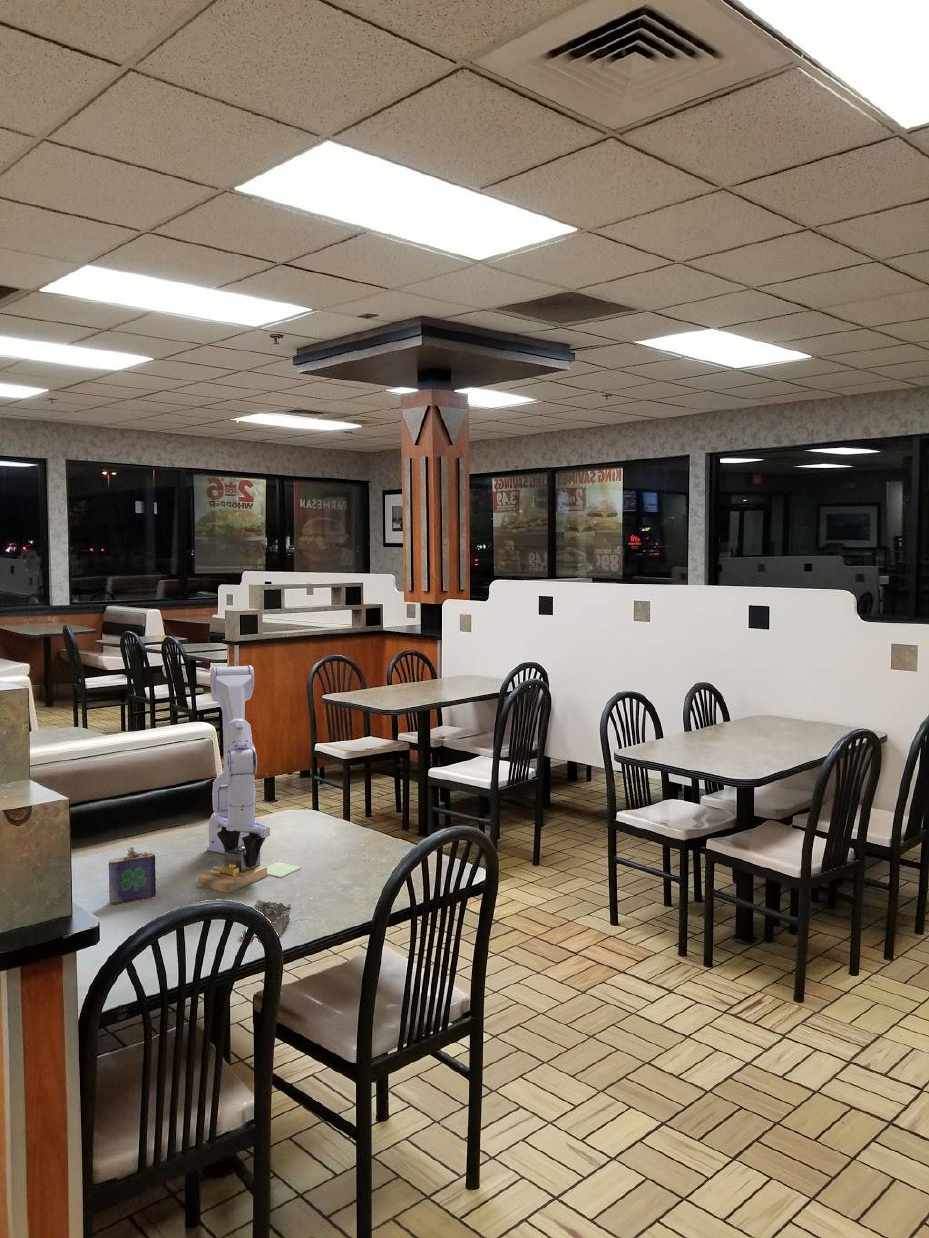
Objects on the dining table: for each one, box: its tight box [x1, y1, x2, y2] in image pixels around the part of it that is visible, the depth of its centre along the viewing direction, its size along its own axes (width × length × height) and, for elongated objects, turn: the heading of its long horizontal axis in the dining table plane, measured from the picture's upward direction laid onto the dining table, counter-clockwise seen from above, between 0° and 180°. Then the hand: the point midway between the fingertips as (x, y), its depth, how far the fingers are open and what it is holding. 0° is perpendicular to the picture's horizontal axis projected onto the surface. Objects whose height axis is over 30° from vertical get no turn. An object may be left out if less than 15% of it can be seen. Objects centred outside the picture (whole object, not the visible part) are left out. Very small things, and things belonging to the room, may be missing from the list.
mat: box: [266, 861, 303, 879], centre depth 212 cm, size 7×7×1 cm
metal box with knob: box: [223, 844, 261, 873], centre depth 208 cm, size 5×6×4 cm
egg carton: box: [252, 899, 292, 939], centre depth 181 cm, size 11×8×4 cm
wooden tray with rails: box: [196, 864, 268, 894], centre depth 205 cm, size 9×12×3 cm
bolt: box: [219, 863, 239, 878], centre depth 202 cm, size 4×2×3 cm, turn 60°
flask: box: [108, 847, 157, 906], centre depth 194 cm, size 9×3×11 cm, turn 121°
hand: (242, 863), depth 208 cm, fingers closed on metal box with knob, 5 cm apart
